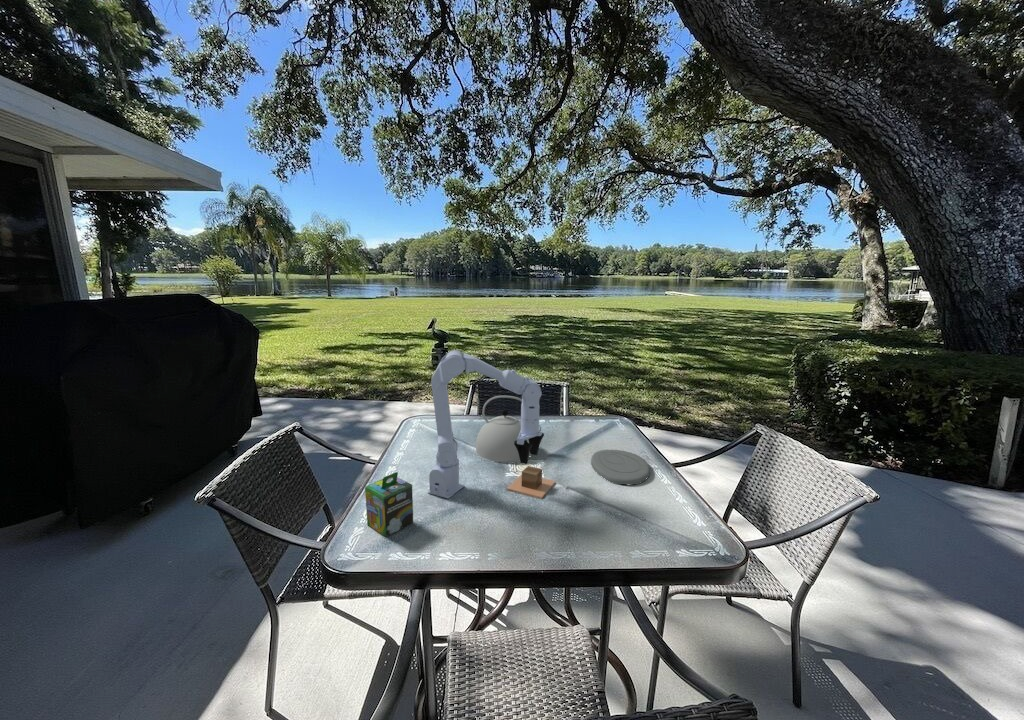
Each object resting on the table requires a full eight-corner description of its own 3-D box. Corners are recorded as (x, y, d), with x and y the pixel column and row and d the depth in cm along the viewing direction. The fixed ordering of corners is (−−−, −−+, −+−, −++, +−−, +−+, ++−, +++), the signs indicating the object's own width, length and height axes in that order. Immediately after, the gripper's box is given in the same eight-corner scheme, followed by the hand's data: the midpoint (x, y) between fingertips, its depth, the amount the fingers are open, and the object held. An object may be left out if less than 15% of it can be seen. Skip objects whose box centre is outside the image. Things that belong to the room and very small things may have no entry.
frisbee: (601, 486, 139) (601, 479, 138) (585, 454, 165) (585, 448, 165) (662, 486, 139) (662, 479, 139) (636, 454, 166) (636, 448, 165)
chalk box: (394, 511, 121) (392, 463, 118) (414, 523, 115) (413, 472, 113) (365, 525, 114) (362, 474, 111) (385, 538, 108) (383, 484, 106)
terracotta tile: (541, 498, 129) (541, 497, 129) (506, 490, 135) (506, 488, 134) (555, 482, 140) (555, 481, 140) (522, 475, 145) (522, 473, 145)
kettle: (538, 441, 177) (540, 389, 173) (539, 464, 155) (541, 404, 151) (479, 440, 178) (479, 387, 174) (471, 462, 156) (471, 403, 152)
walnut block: (535, 489, 134) (536, 474, 133) (521, 486, 136) (521, 471, 135) (541, 483, 138) (542, 469, 137) (528, 480, 140) (528, 465, 140)
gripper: (532, 426, 126) (531, 469, 128) (550, 413, 139) (548, 453, 141) (511, 422, 129) (510, 464, 131) (530, 410, 142) (529, 449, 144)
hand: (529, 458), depth 136 cm, fingers open, 7 cm apart
